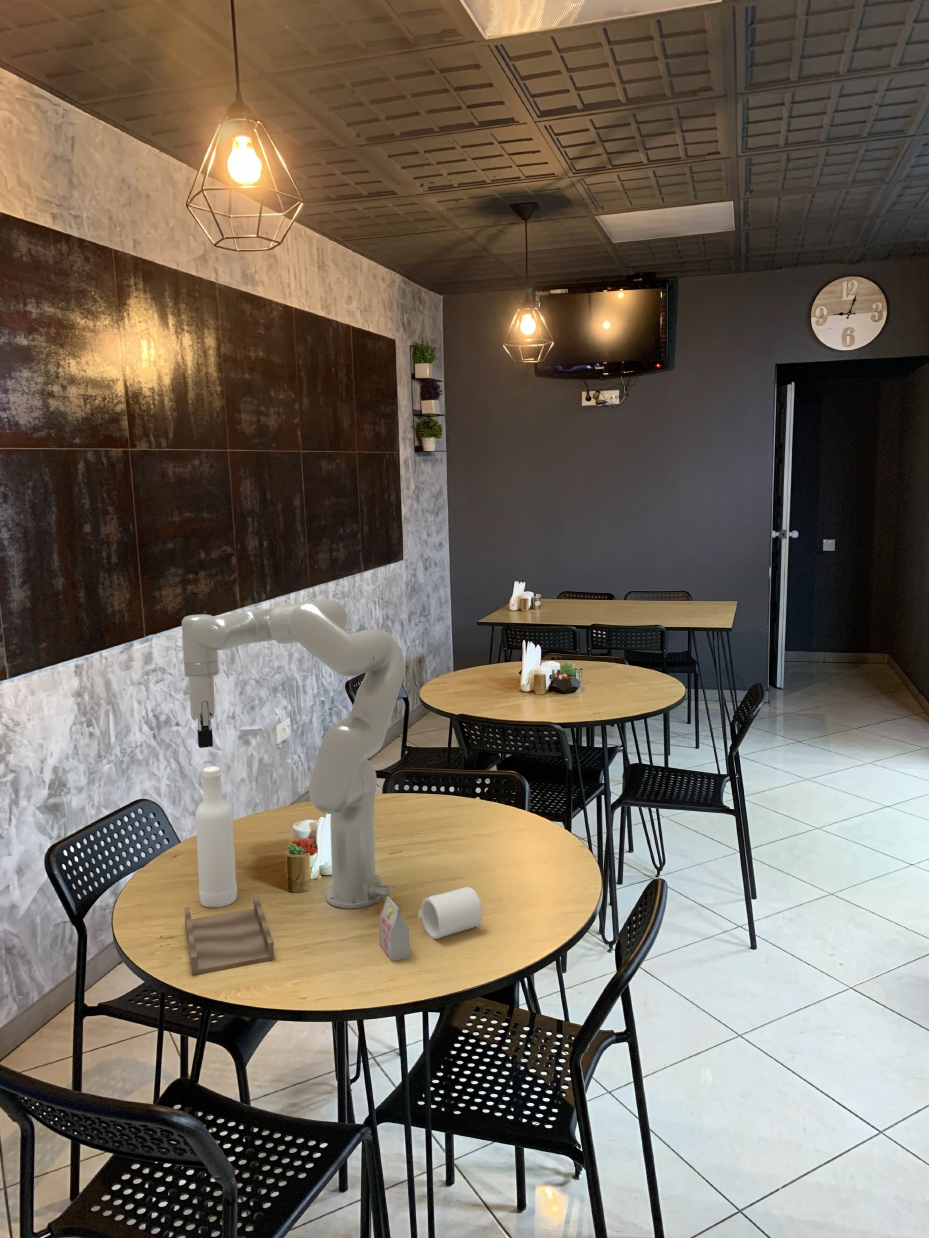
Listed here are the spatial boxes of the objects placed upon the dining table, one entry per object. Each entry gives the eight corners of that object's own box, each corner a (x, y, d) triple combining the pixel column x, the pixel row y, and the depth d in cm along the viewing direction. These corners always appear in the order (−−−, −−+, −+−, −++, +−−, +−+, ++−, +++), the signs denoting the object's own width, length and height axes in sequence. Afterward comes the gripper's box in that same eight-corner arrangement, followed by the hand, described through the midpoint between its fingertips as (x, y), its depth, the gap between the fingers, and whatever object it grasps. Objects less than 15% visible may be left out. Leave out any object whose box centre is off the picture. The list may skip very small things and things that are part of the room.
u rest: (185, 923, 183) (184, 907, 183) (258, 911, 188) (257, 895, 188) (192, 975, 163) (191, 957, 162) (274, 959, 168) (273, 942, 168)
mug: (483, 932, 178) (482, 894, 177) (440, 945, 172) (439, 907, 171) (452, 910, 188) (452, 874, 187) (411, 922, 182) (410, 885, 182)
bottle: (242, 892, 198) (235, 763, 194) (229, 908, 190) (222, 773, 186) (208, 892, 198) (200, 762, 195) (194, 907, 191) (186, 773, 187)
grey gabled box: (397, 941, 174) (396, 893, 173) (409, 957, 168) (408, 907, 167) (380, 946, 173) (378, 897, 171) (391, 961, 167) (390, 911, 165)
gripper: (182, 664, 208) (186, 740, 210) (186, 675, 194) (190, 756, 196) (215, 662, 210) (219, 737, 212) (221, 672, 196) (225, 752, 199)
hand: (205, 746), depth 204 cm, fingers closed
